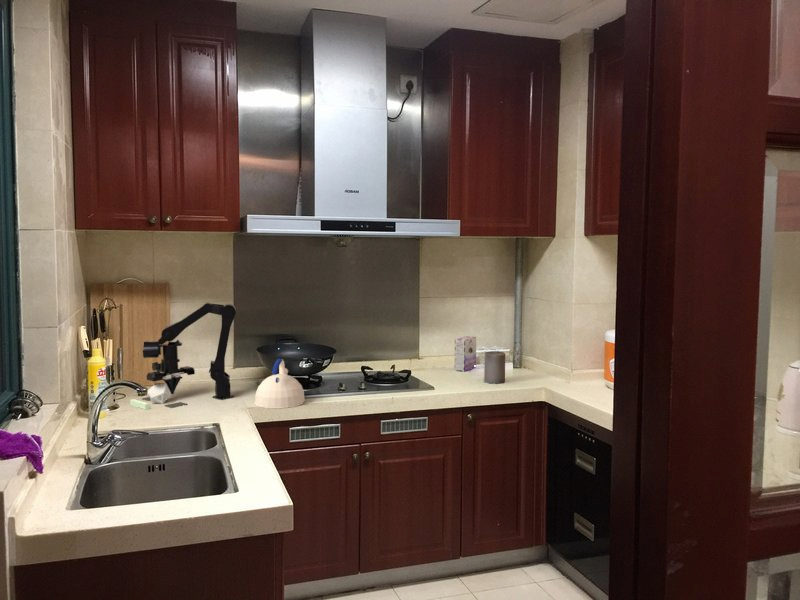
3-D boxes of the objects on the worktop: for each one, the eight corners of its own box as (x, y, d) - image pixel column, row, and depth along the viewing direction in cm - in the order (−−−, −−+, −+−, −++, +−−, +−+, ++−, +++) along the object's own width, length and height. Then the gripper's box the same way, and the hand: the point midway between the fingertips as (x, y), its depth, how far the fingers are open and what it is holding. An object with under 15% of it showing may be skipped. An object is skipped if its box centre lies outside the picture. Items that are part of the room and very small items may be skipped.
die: (151, 407, 257) (166, 388, 257) (139, 395, 260) (153, 375, 261) (164, 410, 264) (179, 391, 265) (152, 397, 268) (166, 379, 268)
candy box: (466, 366, 340) (466, 335, 339) (476, 367, 337) (476, 336, 335) (454, 370, 328) (454, 338, 327) (464, 372, 325) (464, 339, 324)
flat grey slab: (187, 404, 259) (187, 399, 259) (152, 411, 248) (152, 406, 247) (157, 396, 274) (157, 391, 273) (123, 402, 262) (123, 397, 262)
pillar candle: (501, 379, 307) (501, 348, 306) (507, 383, 298) (508, 351, 297) (481, 380, 306) (481, 348, 304) (487, 384, 296) (488, 352, 295)
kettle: (309, 396, 273) (308, 354, 271) (300, 409, 252) (299, 363, 251) (261, 396, 273) (260, 354, 272) (248, 408, 253) (247, 363, 251)
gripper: (180, 351, 277) (181, 387, 278) (138, 357, 263) (140, 395, 264) (194, 354, 270) (196, 391, 271) (153, 361, 256) (154, 399, 257)
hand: (171, 394), depth 266 cm, fingers closed
